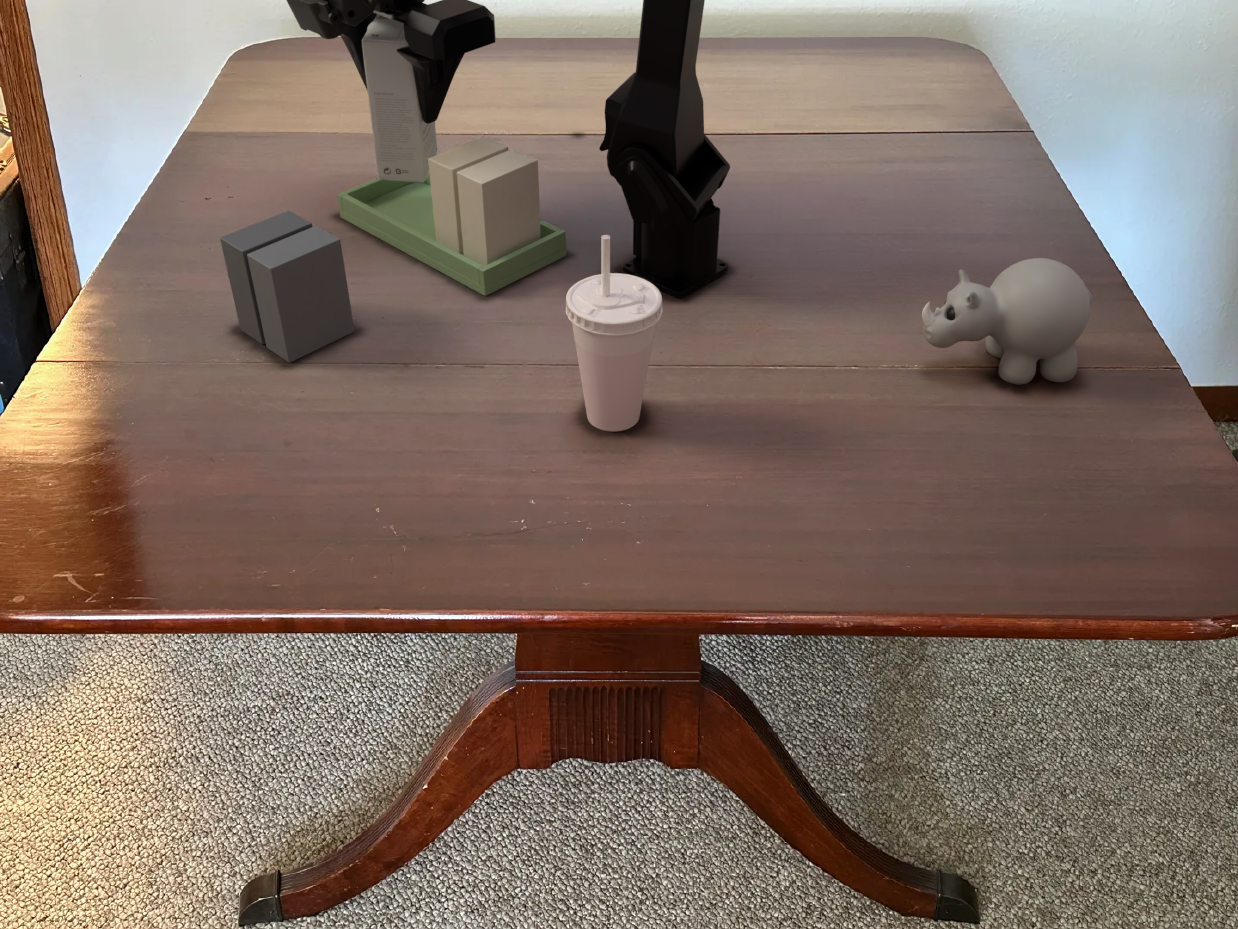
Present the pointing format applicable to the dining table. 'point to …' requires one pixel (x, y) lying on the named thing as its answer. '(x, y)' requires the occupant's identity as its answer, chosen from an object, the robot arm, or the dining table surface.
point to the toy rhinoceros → (1018, 319)
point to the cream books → (485, 199)
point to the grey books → (288, 284)
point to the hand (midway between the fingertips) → (403, 110)
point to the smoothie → (613, 341)
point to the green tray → (410, 227)
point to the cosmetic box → (395, 106)
